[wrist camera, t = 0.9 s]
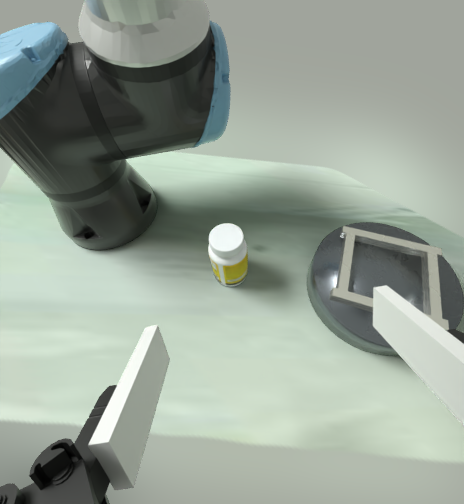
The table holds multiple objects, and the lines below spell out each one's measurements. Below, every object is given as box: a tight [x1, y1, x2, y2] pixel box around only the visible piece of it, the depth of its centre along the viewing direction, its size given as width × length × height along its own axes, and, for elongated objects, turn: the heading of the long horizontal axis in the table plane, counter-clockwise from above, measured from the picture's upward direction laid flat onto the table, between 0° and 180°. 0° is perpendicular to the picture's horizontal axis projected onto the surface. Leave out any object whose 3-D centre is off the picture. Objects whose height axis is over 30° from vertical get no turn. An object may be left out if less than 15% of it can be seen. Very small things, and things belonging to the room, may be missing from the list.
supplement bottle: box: [208, 223, 248, 286], centre depth 31 cm, size 5×5×8 cm
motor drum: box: [307, 223, 464, 355], centre depth 29 cm, size 16×16×5 cm
